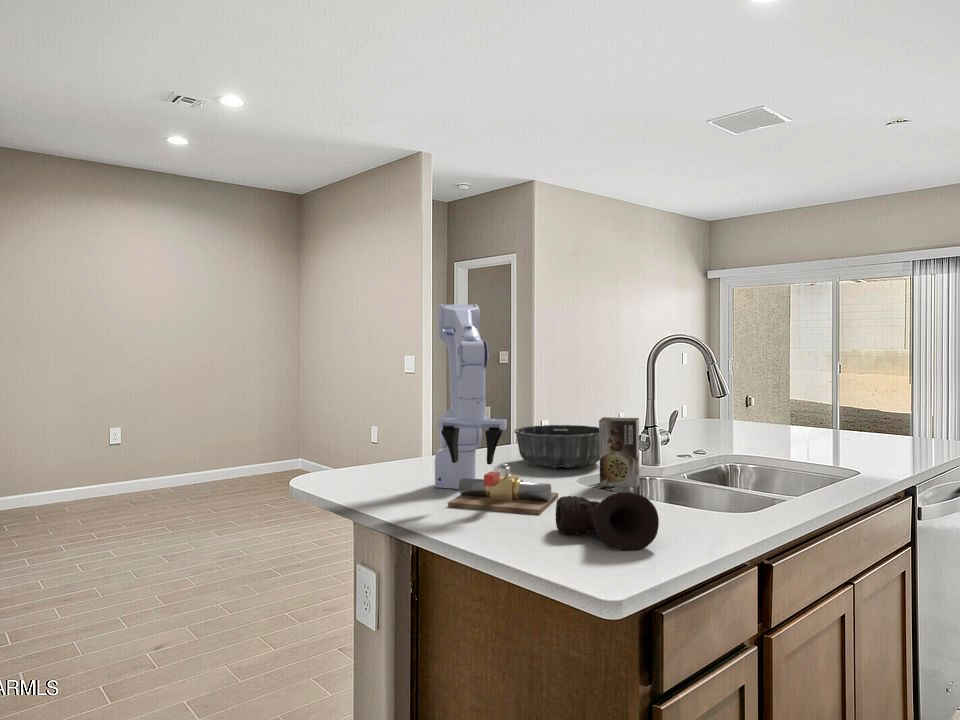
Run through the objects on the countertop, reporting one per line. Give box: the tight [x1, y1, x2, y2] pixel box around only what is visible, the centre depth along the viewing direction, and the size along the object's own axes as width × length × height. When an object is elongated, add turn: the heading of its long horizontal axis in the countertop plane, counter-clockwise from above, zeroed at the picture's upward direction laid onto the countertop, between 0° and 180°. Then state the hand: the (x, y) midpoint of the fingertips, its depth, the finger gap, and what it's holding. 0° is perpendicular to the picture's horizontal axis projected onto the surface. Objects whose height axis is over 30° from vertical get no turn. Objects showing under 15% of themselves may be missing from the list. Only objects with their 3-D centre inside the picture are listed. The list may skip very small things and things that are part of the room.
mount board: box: [447, 491, 559, 516], centre depth 148 cm, size 20×16×1 cm
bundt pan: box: [514, 424, 600, 469], centre depth 193 cm, size 26×26×10 cm
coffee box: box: [598, 416, 641, 489], centre depth 165 cm, size 9×6×16 cm
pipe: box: [555, 491, 660, 552], centre depth 121 cm, size 10×15×15 cm
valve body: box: [458, 474, 552, 501], centre depth 148 cm, size 20×5×5 cm, turn 70°
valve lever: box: [483, 463, 511, 486], centre depth 143 cm, size 12×3×3 cm, turn 160°
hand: (472, 462), depth 143 cm, fingers open, 7 cm apart
